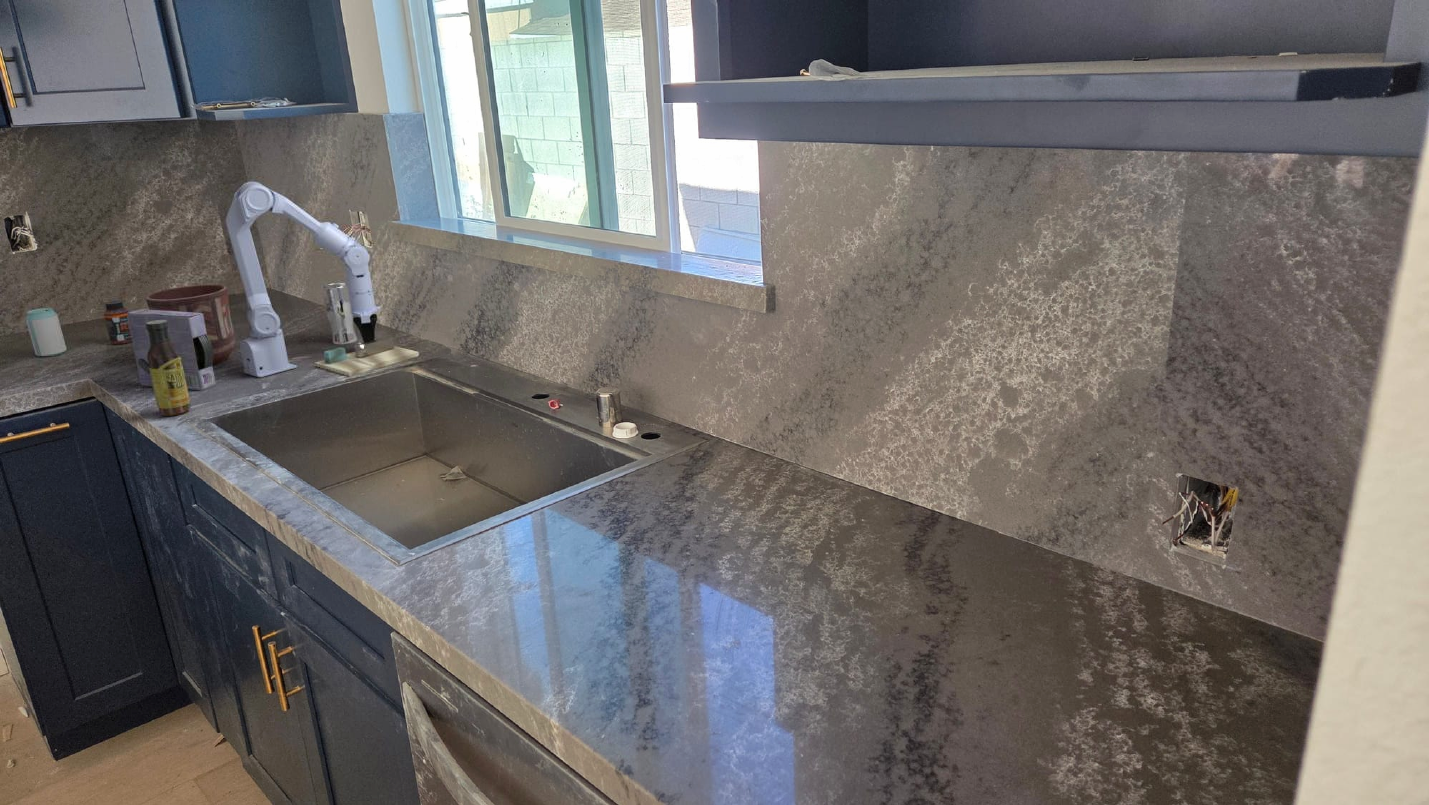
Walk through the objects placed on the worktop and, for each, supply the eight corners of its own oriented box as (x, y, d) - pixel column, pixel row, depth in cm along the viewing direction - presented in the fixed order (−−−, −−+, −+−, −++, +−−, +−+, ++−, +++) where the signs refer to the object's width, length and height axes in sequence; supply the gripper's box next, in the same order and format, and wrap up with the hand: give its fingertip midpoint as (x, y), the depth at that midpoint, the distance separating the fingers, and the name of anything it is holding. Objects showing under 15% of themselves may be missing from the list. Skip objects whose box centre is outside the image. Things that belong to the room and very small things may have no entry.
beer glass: (341, 346, 259) (330, 289, 254) (325, 342, 263) (315, 286, 258) (364, 339, 264) (354, 283, 259) (349, 336, 268) (339, 281, 263)
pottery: (202, 374, 241) (186, 300, 235) (146, 370, 246) (129, 298, 241) (256, 354, 257) (242, 284, 251) (202, 350, 262) (187, 283, 256)
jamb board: (349, 376, 233) (347, 360, 232) (315, 366, 242) (312, 351, 241) (418, 355, 246) (416, 340, 245) (384, 347, 256) (381, 332, 254)
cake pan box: (222, 384, 232) (205, 310, 226) (205, 391, 227) (188, 316, 222) (157, 380, 238) (139, 308, 232) (140, 387, 233) (121, 313, 227)
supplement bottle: (127, 344, 272) (117, 304, 268) (106, 345, 272) (95, 305, 268) (140, 338, 277) (130, 298, 274) (119, 339, 278) (108, 299, 274)
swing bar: (360, 358, 243) (357, 344, 242) (354, 356, 244) (351, 343, 243) (394, 348, 250) (392, 335, 249) (388, 346, 251) (386, 333, 250)
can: (54, 349, 270) (42, 306, 266) (73, 351, 268) (61, 307, 264) (30, 357, 264) (17, 313, 260) (49, 358, 262) (36, 314, 258)
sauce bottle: (178, 417, 211) (156, 326, 204) (152, 417, 212) (130, 326, 205) (199, 407, 217) (178, 318, 210) (174, 406, 218) (153, 317, 211)
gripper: (379, 295, 241) (388, 349, 246) (376, 284, 254) (384, 335, 259) (348, 299, 239) (357, 353, 244) (346, 287, 252) (355, 339, 257)
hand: (369, 344), depth 251 cm, fingers closed
